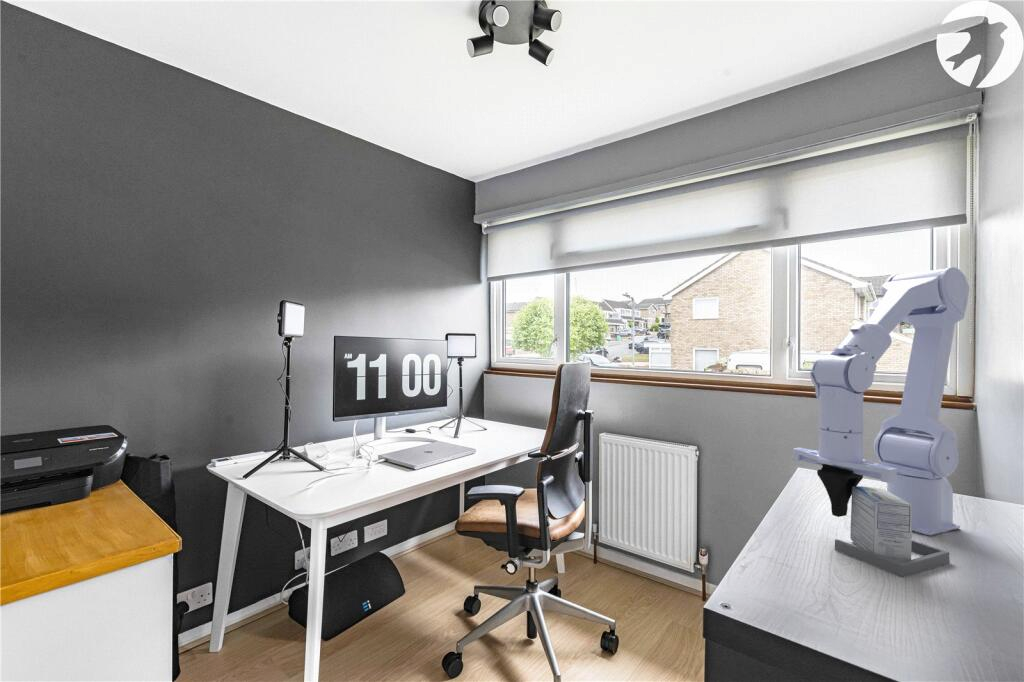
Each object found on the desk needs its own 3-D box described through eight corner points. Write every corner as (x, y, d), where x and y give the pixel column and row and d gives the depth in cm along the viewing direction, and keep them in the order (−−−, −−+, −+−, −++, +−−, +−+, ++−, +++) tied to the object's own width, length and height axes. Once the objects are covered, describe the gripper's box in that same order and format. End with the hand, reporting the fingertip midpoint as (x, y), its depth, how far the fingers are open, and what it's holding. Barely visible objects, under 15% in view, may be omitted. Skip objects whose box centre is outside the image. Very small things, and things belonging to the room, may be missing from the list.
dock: (880, 538, 72) (880, 529, 72) (949, 562, 64) (949, 552, 64) (834, 549, 68) (834, 539, 68) (902, 577, 60) (902, 565, 60)
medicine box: (911, 568, 62) (914, 505, 62) (873, 562, 63) (876, 500, 64) (882, 544, 70) (885, 488, 70) (848, 539, 71) (851, 484, 71)
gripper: (780, 423, 78) (779, 503, 77) (876, 440, 64) (875, 536, 64) (808, 421, 80) (807, 498, 80) (905, 437, 67) (904, 529, 67)
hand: (839, 515), depth 72 cm, fingers closed
